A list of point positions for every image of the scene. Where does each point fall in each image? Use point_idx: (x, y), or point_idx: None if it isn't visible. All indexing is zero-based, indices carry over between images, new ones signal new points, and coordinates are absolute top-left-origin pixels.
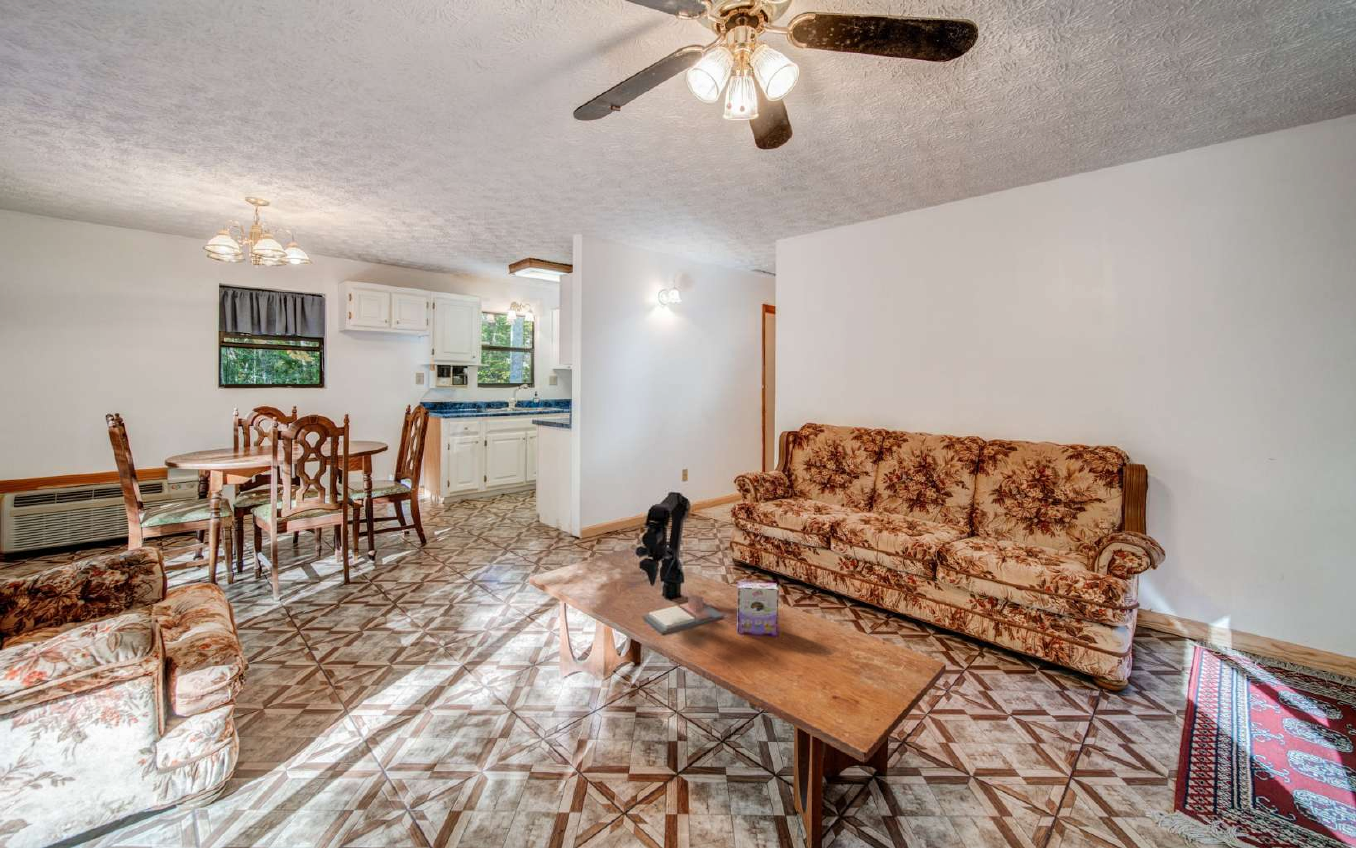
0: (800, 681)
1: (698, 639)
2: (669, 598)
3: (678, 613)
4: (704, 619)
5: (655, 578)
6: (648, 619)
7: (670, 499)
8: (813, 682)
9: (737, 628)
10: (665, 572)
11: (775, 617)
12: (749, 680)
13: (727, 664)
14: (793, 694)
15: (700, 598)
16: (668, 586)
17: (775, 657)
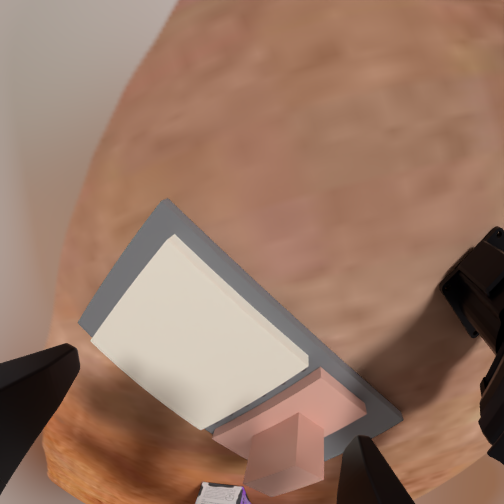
0: (103, 492)
1: (120, 414)
2: (450, 285)
3: (217, 382)
4: None
5: (22, 434)
6: (136, 245)
7: None
8: (111, 500)
9: (200, 491)
10: (345, 500)
11: None
12: (61, 450)
13: (73, 439)
14: (73, 476)
15: (261, 490)
16: (490, 308)
17: (142, 496)
